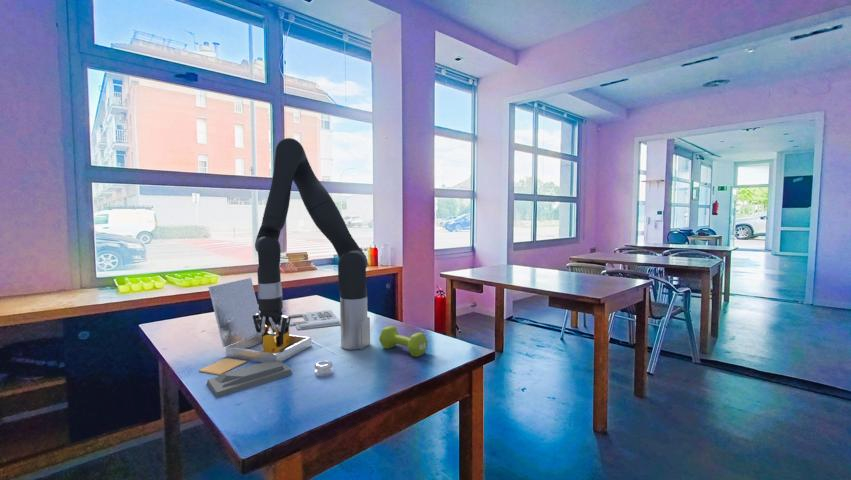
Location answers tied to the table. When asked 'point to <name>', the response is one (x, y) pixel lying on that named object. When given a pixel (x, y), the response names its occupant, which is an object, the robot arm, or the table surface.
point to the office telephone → (315, 320)
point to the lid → (234, 310)
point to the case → (242, 352)
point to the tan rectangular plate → (222, 366)
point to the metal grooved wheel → (323, 368)
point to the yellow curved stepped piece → (274, 343)
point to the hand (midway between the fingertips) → (272, 345)
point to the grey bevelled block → (248, 377)
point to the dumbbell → (404, 341)
